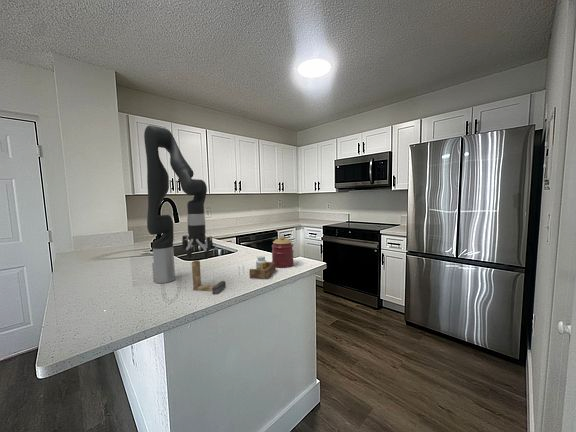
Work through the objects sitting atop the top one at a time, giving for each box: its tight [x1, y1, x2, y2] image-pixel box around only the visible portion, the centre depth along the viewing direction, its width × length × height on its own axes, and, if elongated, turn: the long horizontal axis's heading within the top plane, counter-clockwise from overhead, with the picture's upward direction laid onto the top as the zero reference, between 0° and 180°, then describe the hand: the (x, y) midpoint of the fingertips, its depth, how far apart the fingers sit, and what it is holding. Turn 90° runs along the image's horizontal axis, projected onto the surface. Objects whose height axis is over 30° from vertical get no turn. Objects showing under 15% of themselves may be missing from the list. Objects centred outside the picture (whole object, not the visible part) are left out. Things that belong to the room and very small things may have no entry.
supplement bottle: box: [255, 255, 267, 269], centre depth 131 cm, size 5×5×10 cm
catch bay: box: [249, 261, 277, 280], centre depth 131 cm, size 10×15×4 cm, turn 167°
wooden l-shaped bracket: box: [191, 260, 226, 295], centre depth 111 cm, size 13×8×13 cm, turn 77°
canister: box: [271, 235, 294, 269], centre depth 147 cm, size 13×13×18 cm
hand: (198, 258), depth 114 cm, fingers open, 8 cm apart
